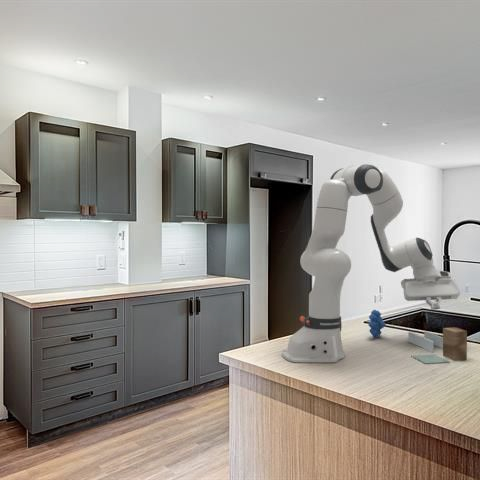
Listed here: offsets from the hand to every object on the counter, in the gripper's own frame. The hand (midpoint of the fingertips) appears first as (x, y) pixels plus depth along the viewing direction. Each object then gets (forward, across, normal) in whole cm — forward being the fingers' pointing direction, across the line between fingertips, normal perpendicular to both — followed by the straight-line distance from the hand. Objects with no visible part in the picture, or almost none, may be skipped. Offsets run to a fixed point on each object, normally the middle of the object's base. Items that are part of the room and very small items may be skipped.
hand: (436, 308), depth 164 cm
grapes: (+1, -18, +22) cm, 29 cm away
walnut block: (+19, +2, +1) cm, 19 cm away
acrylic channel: (+9, -2, +13) cm, 16 cm away
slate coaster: (+20, -8, -1) cm, 22 cm away
